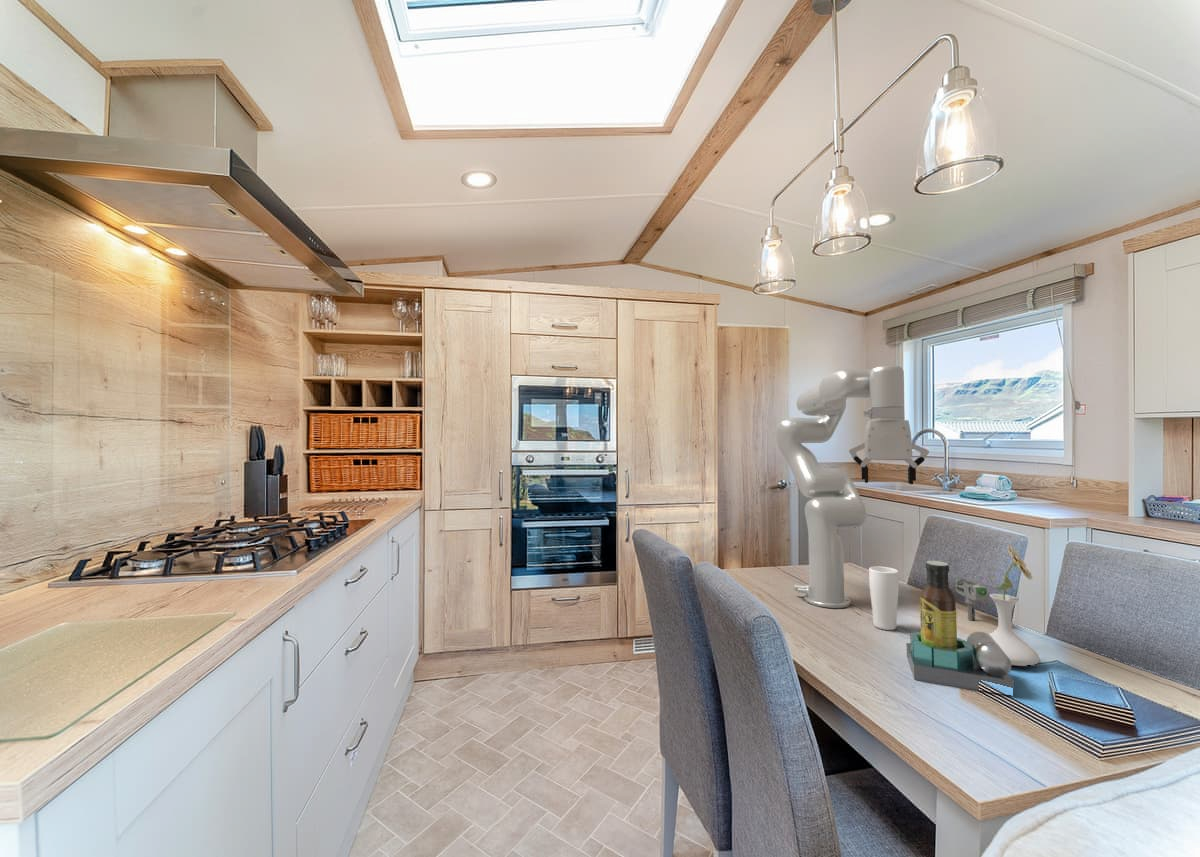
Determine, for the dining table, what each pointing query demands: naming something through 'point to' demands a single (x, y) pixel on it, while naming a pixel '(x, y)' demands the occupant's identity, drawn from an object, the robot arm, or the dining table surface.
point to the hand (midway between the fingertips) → (888, 483)
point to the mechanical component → (971, 594)
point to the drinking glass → (884, 596)
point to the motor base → (954, 675)
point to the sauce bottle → (938, 608)
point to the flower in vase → (1004, 634)
